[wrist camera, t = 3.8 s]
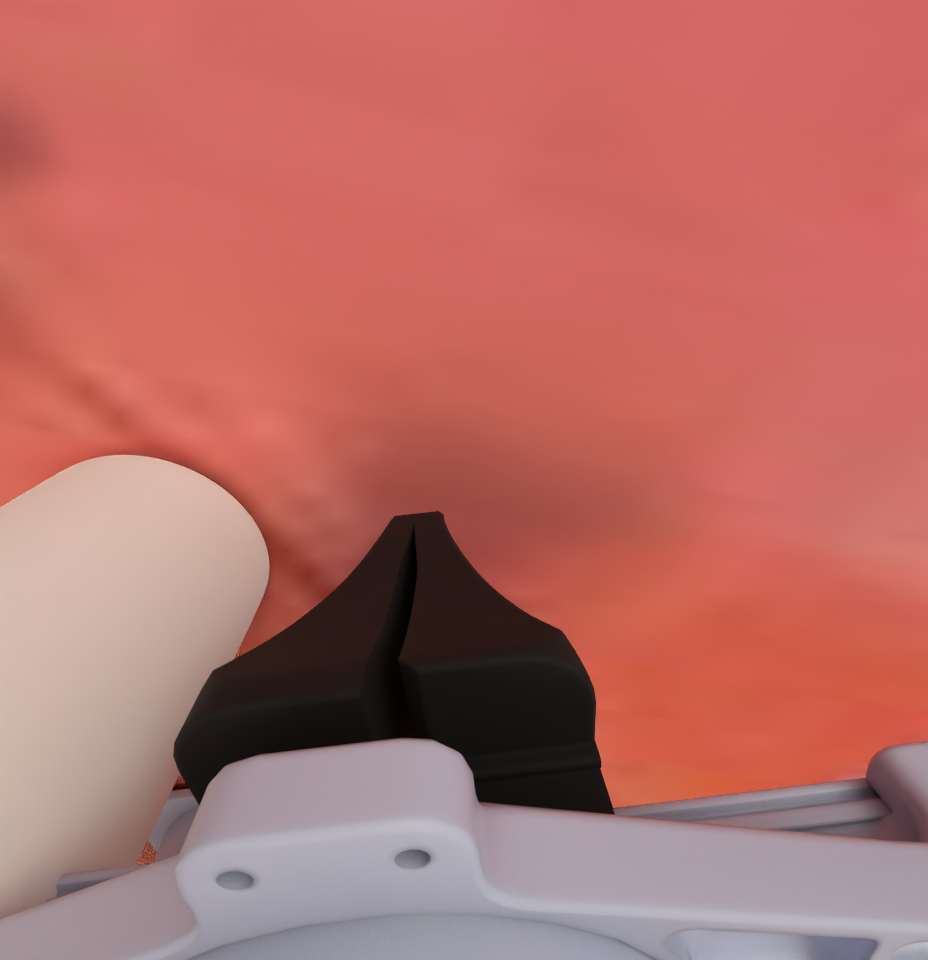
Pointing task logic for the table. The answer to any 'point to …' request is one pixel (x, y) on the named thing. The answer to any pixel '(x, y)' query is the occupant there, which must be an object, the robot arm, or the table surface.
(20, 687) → the can
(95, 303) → the table surface
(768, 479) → the table surface
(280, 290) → the table surface
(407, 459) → the table surface
